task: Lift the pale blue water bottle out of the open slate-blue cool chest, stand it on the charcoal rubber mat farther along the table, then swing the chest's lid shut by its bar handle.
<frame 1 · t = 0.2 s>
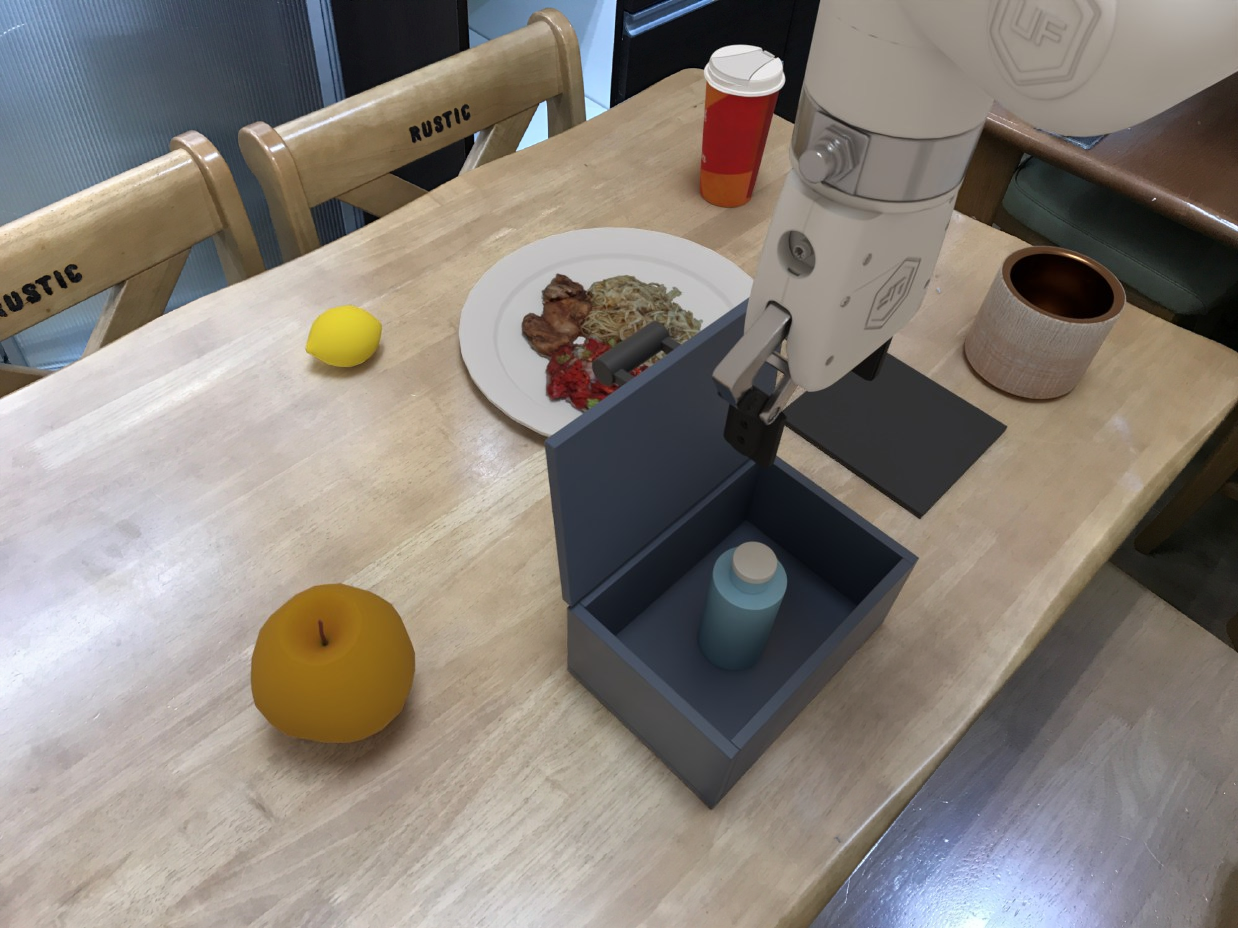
hand: (802, 407, 51), 21 cm above the table, tool pointing down, fingers open, 9 cm apart
chest: (729, 645, 64), on the table
lid: (650, 425, 56), point 16 cm above the table, hinge at 95.0°
bottle: (731, 639, 64), point 1 cm above the table, touching chest
plated food: (620, 341, 84), on the table
lemon: (350, 360, 81), on the table
apple: (353, 705, 60), on the table
mat: (890, 424, 79), on the table
coffee cup: (725, 193, 100), on the table
planter: (1018, 363, 85), on the table
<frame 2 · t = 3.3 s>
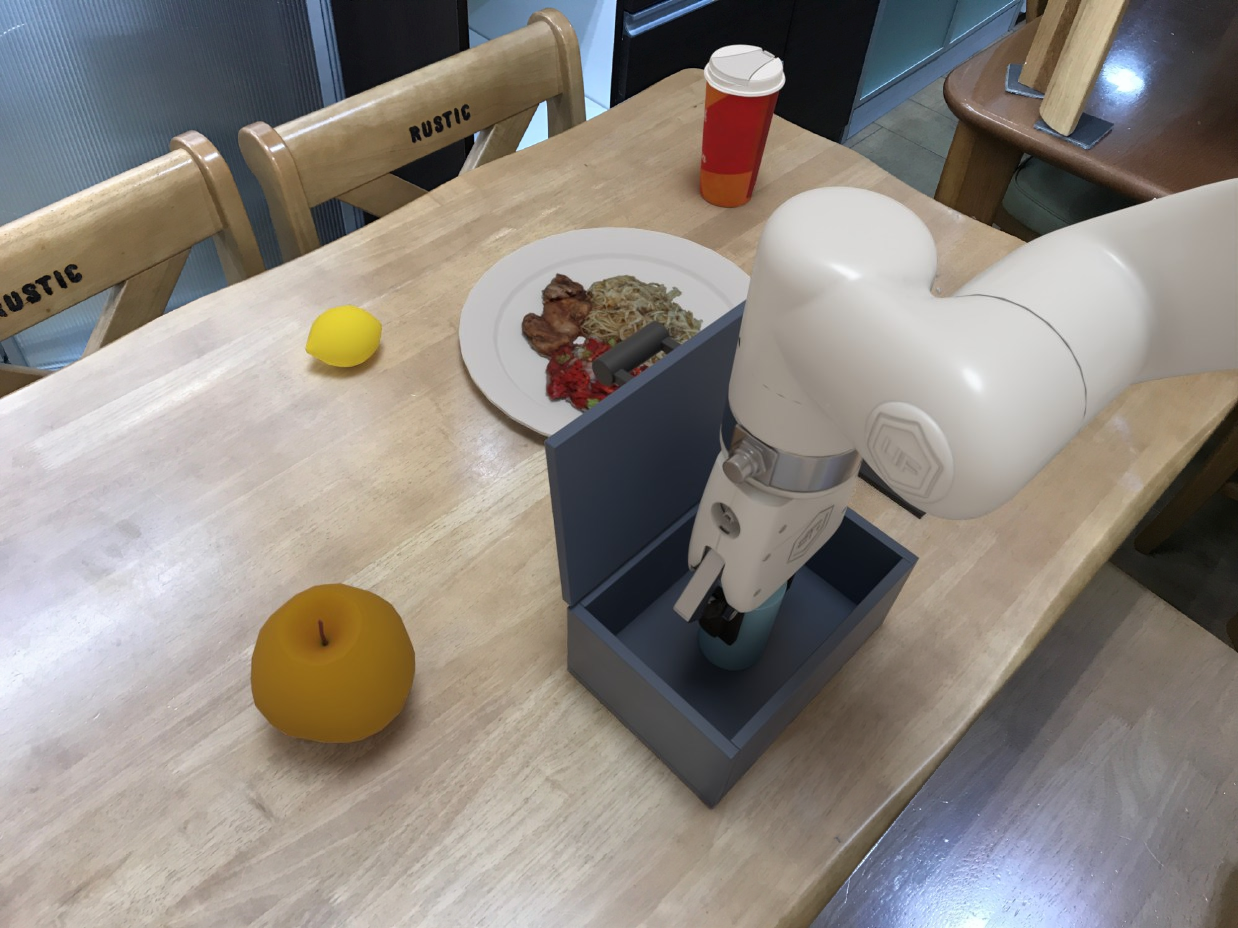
hand: (742, 601, 59), 6 cm above the table, tool pointing down, fingers closed on bottle, 4 cm apart
bottle: (731, 639, 64), point 1 cm above the table, touching chest, gripper
everything else where it was.
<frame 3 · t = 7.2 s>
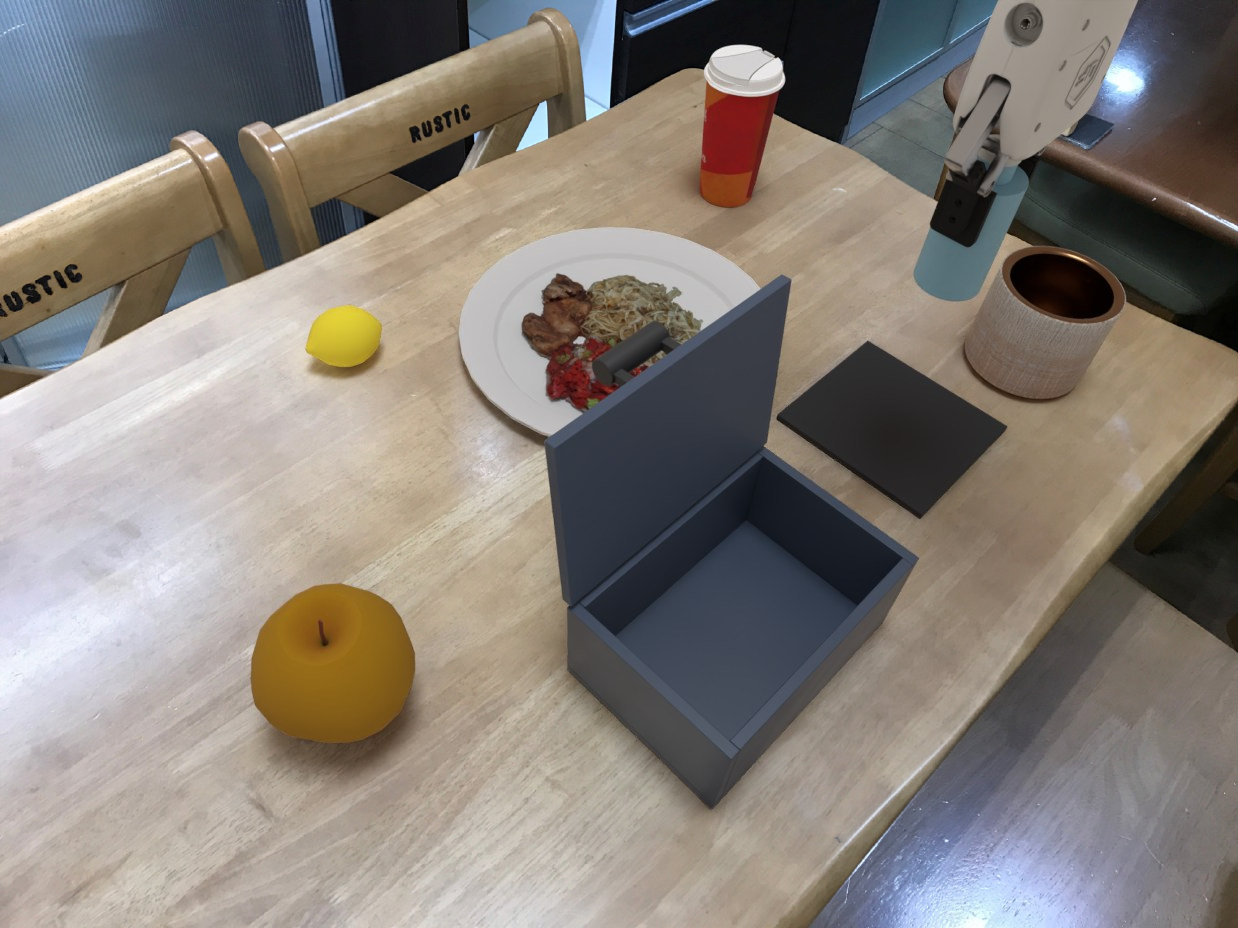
hand: (974, 216, 59), 23 cm above the table, tool pointing down, fingers closed on bottle, 4 cm apart
bottle: (946, 279, 64), point 18 cm above the table, touching gripper
everything else where it was.
when the fingers open (6 cm above the table, at t = 11.4 s): bottle stays where it is, resting on mat.
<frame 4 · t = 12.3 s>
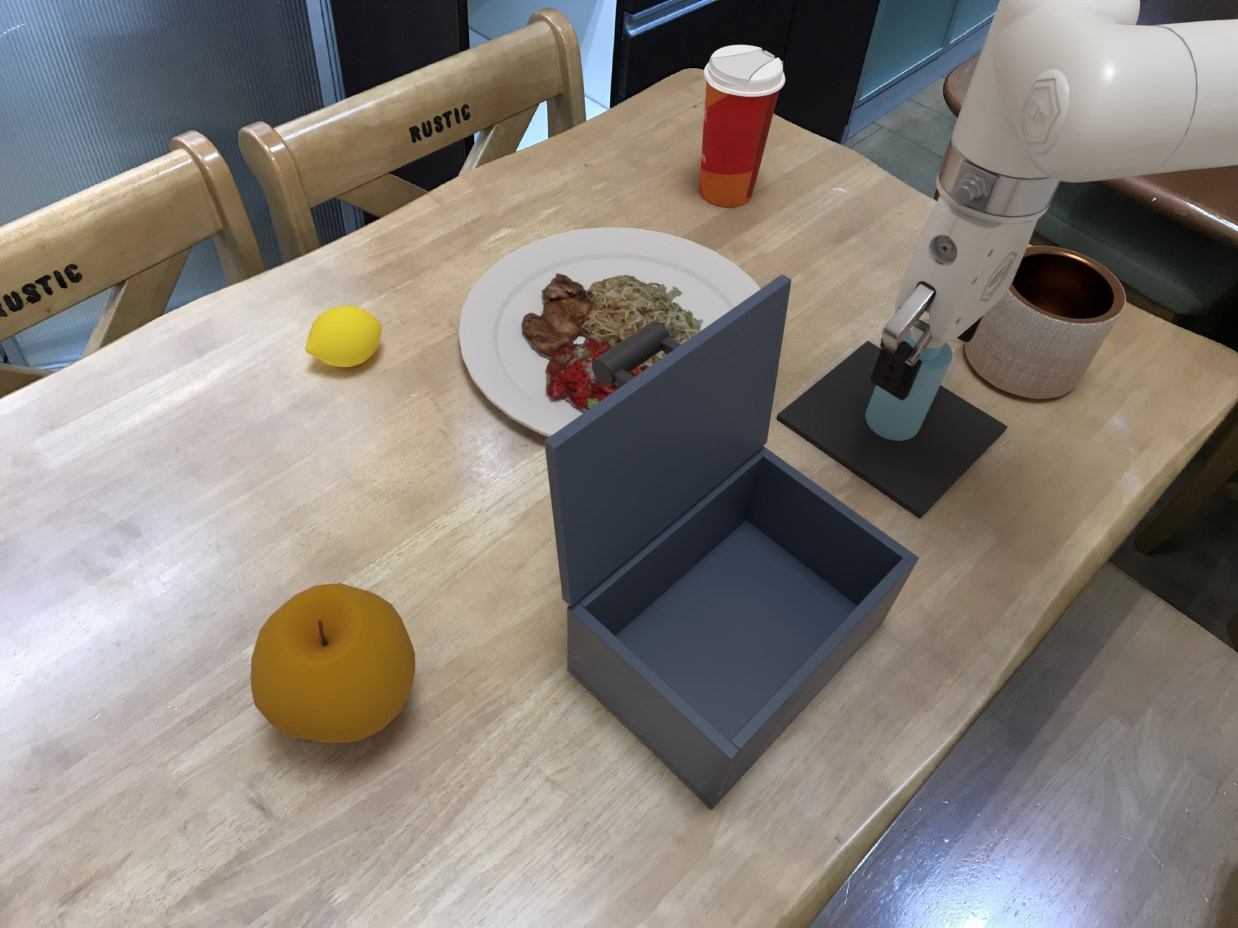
hand: (921, 360, 72), 8 cm above the table, tool pointing down, fingers open, 9 cm apart
bottle: (892, 420, 78), point 1 cm above the table, touching mat
everything else where it was.
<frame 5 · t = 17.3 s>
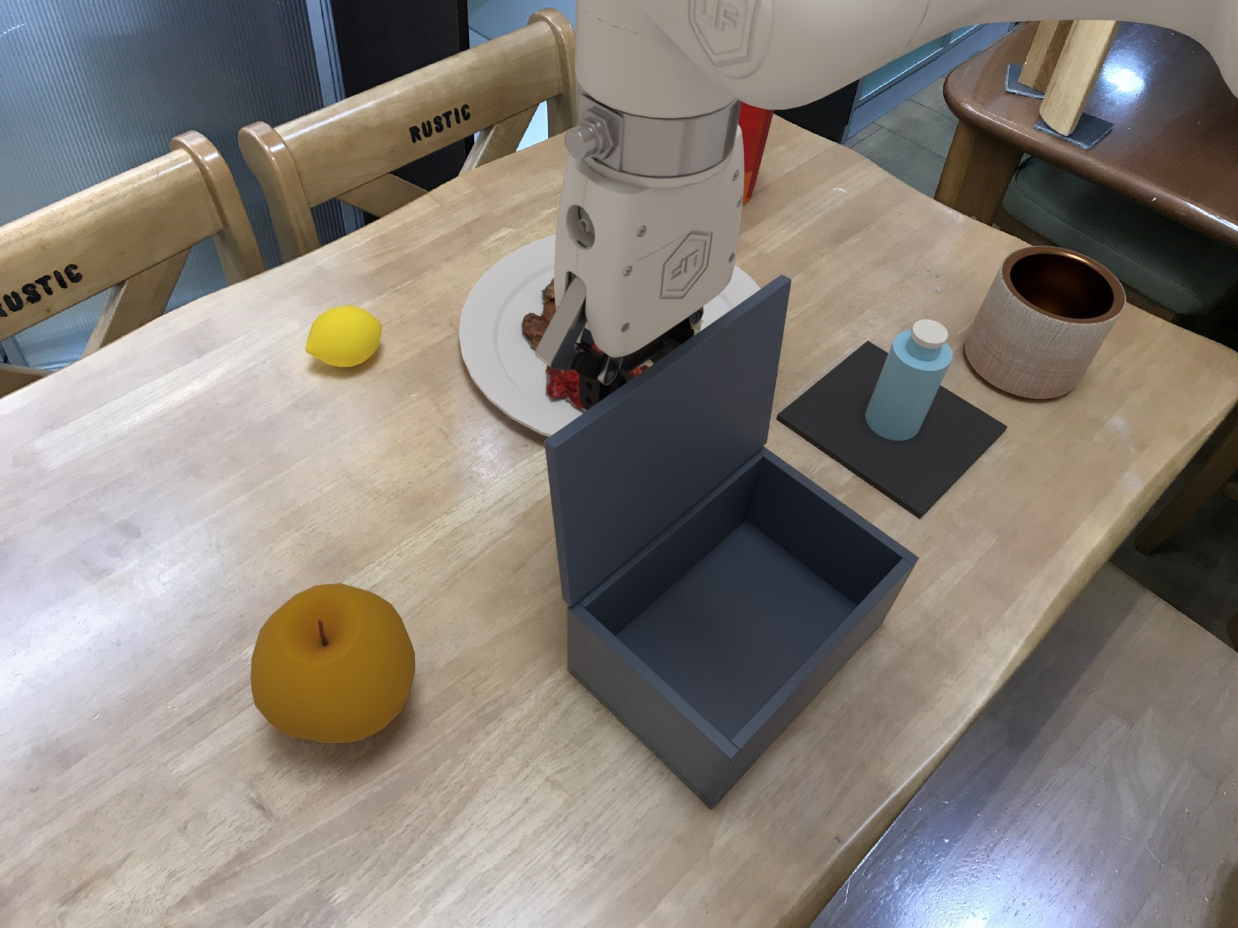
hand: (634, 386, 55), 18 cm above the table, tool pointing down, fingers closed on lid, 5 cm apart
lid: (650, 425, 56), point 16 cm above the table, hinge at 95.0°, touching gripper
everything else where it was.
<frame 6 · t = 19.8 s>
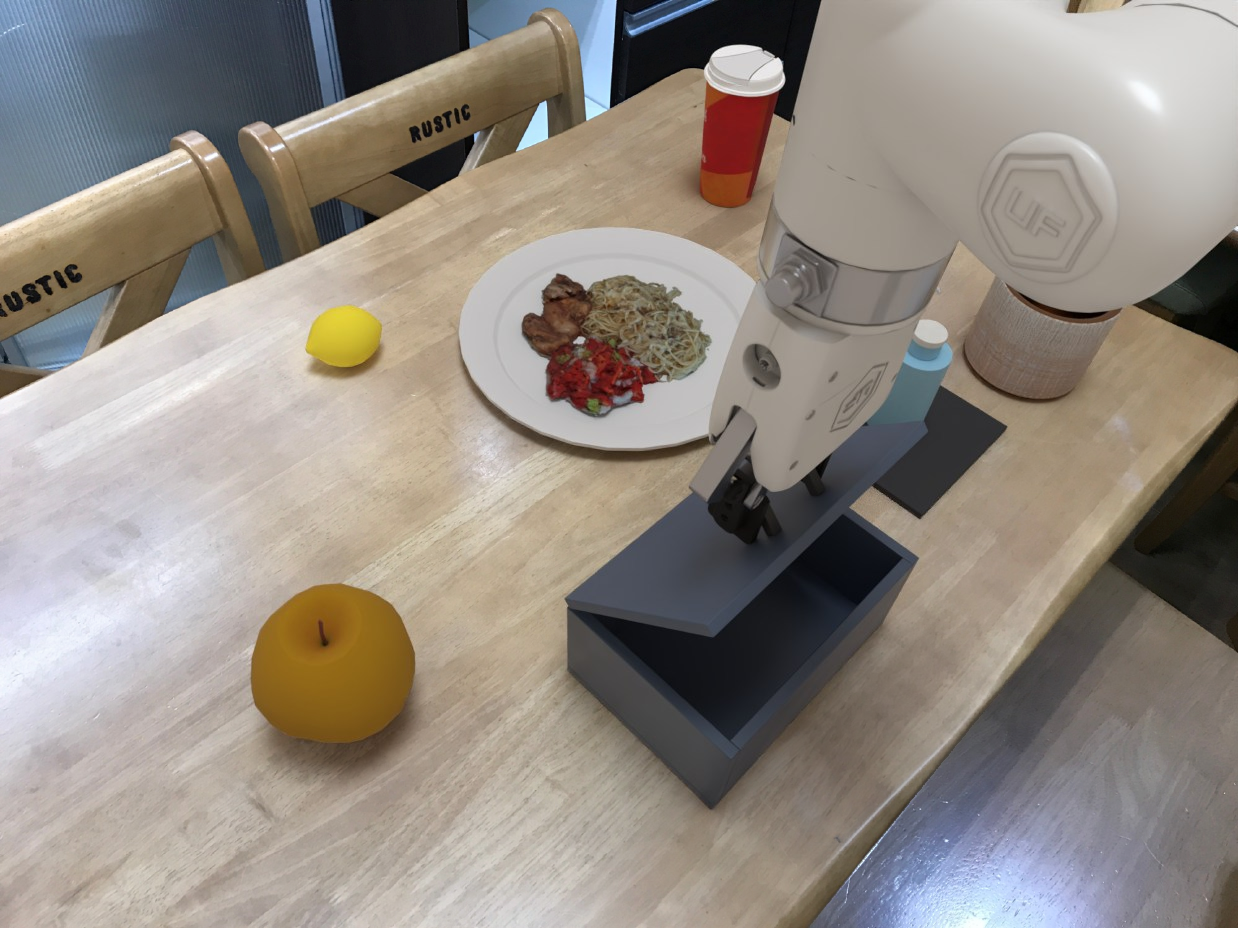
hand: (764, 495, 51), 18 cm above the table, tool pointing down, fingers closed on lid, 5 cm apart
lid: (726, 488, 53), point 16 cm above the table, hinge at 44.6°, touching gripper
everything else where it was.
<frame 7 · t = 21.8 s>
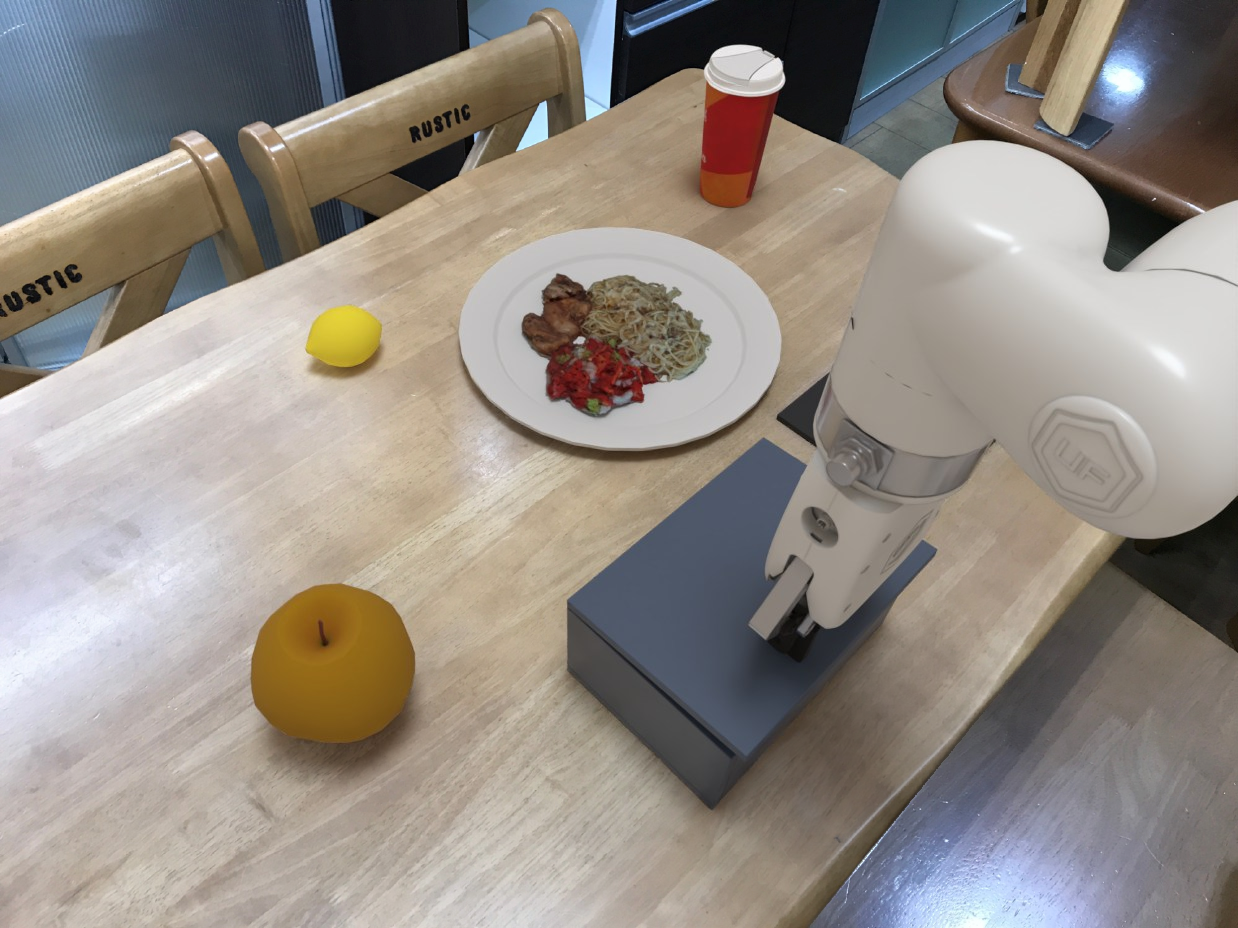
hand: (811, 611, 54), 11 cm above the table, tool pointing down, fingers open, 5 cm apart
lid: (759, 558, 55), point 12 cm above the table, hinge at 4.0°
everything else where it was.
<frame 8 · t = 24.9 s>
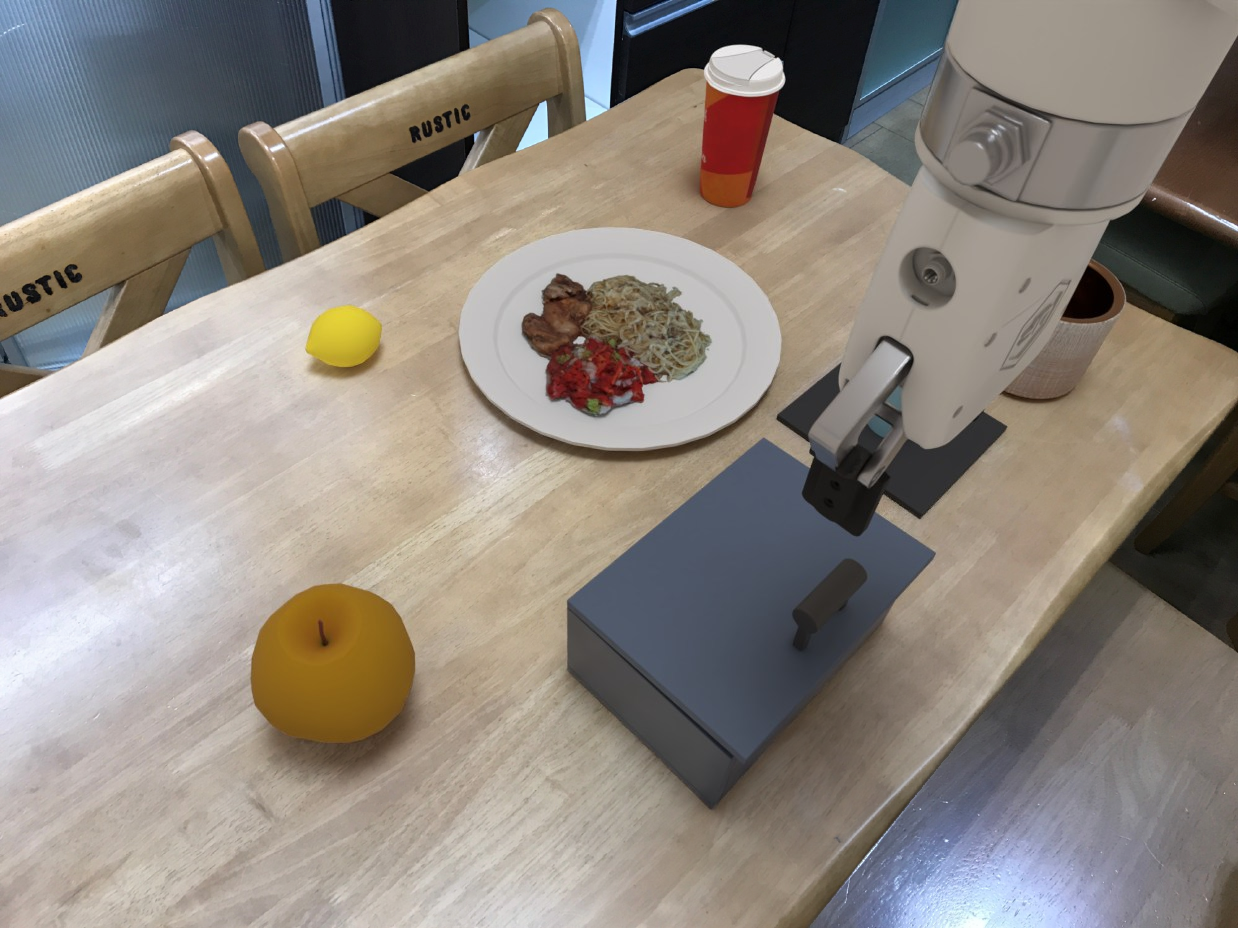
hand: (893, 456, 42), 26 cm above the table, tool pointing down, fingers open, 9 cm apart
lid: (759, 560, 55), point 12 cm above the table, hinge at 2.5°
everything else where it was.
at the end: bottle inside the target area on the mat (0.0 cm from its centre), point 0.6 cm above the mat's base; bottle tilted 0°; lid at +2° (first picture: +95°) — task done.
